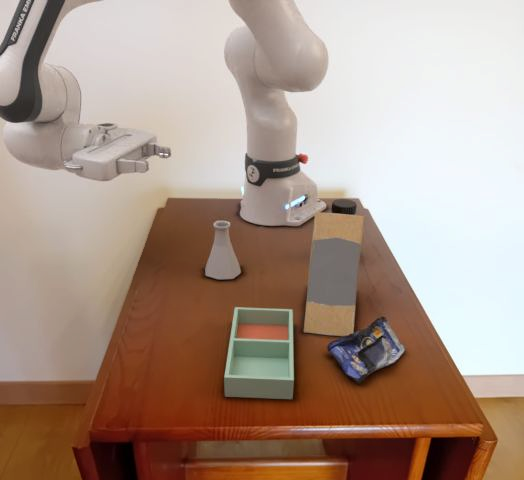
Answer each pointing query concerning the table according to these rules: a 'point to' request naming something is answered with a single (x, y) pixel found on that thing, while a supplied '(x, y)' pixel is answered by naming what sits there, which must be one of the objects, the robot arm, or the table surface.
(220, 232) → the flask
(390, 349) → the snack package
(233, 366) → the two-compartment tray
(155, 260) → the table surface
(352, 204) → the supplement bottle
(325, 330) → the sandwich container
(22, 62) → the robot arm
